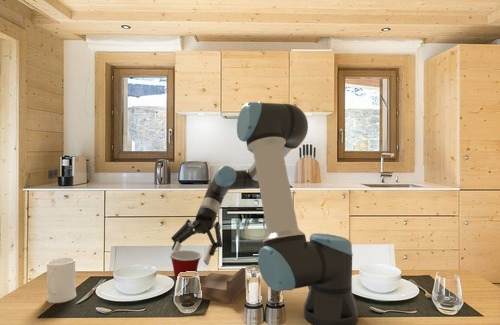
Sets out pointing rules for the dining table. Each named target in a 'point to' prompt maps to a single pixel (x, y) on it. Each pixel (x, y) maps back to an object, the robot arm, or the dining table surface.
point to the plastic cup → (184, 261)
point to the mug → (61, 280)
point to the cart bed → (223, 286)
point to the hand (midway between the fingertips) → (188, 261)
